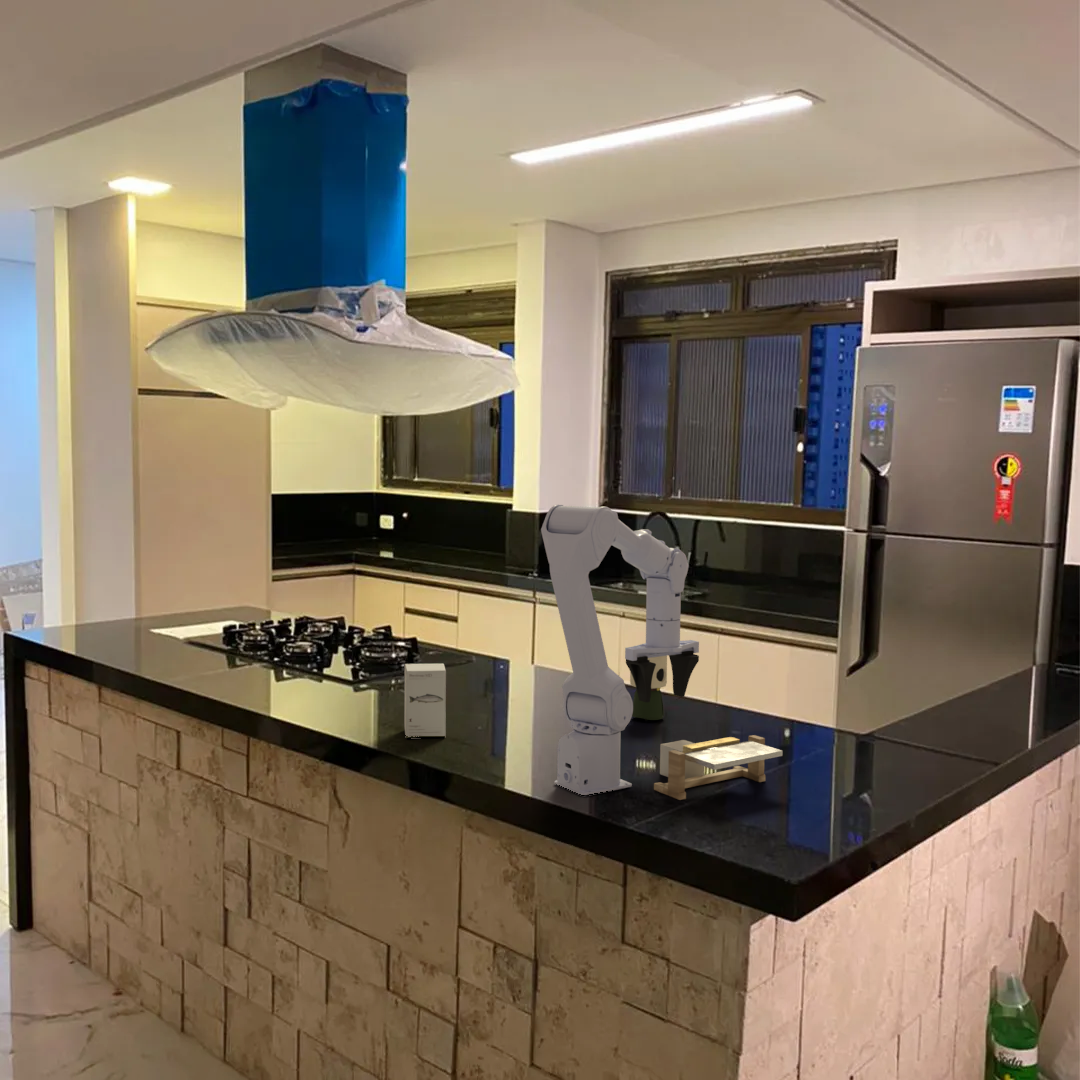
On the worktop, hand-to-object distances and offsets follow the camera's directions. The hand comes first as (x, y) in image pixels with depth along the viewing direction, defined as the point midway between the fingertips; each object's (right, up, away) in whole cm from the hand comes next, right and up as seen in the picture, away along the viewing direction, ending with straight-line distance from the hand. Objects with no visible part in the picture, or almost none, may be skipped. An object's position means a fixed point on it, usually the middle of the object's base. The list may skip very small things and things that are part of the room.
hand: (661, 698), depth 183 cm
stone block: (+2, -11, -8) cm, 14 cm away
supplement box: (-42, -9, +16) cm, 46 cm away
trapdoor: (+8, -7, -17) cm, 20 cm away
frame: (+6, -11, -14) cm, 19 cm away
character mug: (+1, -8, +29) cm, 30 cm away
